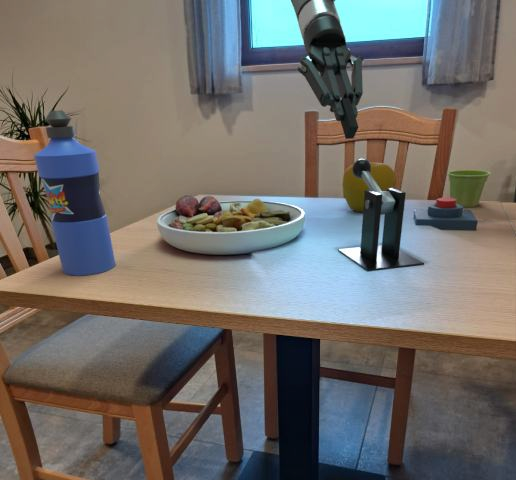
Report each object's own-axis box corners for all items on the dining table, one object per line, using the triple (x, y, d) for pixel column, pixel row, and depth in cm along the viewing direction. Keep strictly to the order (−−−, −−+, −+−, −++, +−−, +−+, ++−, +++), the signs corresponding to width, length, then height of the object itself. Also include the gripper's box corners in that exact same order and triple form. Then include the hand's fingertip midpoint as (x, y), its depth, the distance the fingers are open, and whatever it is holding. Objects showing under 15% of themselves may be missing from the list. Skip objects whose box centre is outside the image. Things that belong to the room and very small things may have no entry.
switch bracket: (337, 255, 84) (340, 187, 78) (388, 250, 85) (394, 183, 80) (366, 276, 73) (372, 200, 68) (423, 270, 75) (434, 195, 70)
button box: (468, 220, 104) (472, 201, 102) (475, 231, 95) (479, 211, 93) (413, 218, 107) (415, 201, 105) (415, 229, 98) (417, 210, 96)
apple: (348, 203, 125) (351, 158, 119) (397, 206, 119) (402, 159, 114) (334, 213, 114) (336, 164, 109) (386, 216, 109) (391, 165, 104)
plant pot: (467, 215, 107) (474, 176, 103) (434, 209, 115) (439, 172, 110) (491, 210, 112) (499, 172, 108) (457, 204, 119) (463, 168, 115)
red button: (454, 206, 101) (455, 197, 100) (456, 209, 97) (457, 201, 96) (434, 205, 101) (435, 197, 101) (436, 209, 98) (437, 201, 97)
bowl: (329, 230, 100) (330, 192, 96) (251, 269, 78) (249, 223, 74) (219, 217, 115) (217, 184, 111) (128, 247, 93) (122, 207, 89)
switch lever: (347, 172, 82) (351, 155, 80) (364, 171, 83) (369, 154, 80) (375, 217, 75) (380, 200, 72) (393, 215, 75) (399, 198, 73)
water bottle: (83, 279, 77) (46, 111, 65) (51, 270, 82) (11, 112, 70) (127, 264, 83) (100, 108, 72) (94, 256, 88) (64, 110, 77)
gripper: (347, 50, 93) (377, 146, 87) (285, 51, 91) (312, 150, 84) (360, 14, 86) (394, 115, 80) (293, 14, 84) (323, 118, 77)
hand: (352, 133), depth 82 cm, fingers closed
